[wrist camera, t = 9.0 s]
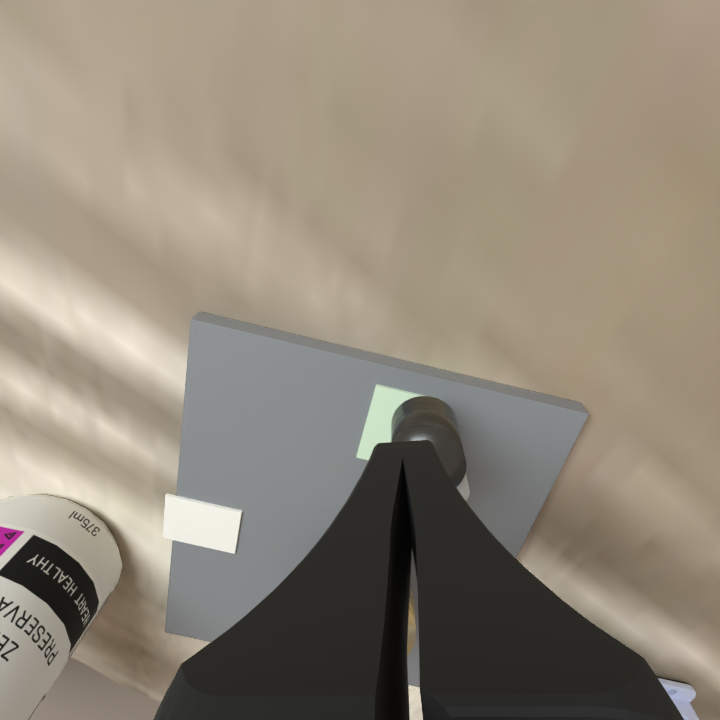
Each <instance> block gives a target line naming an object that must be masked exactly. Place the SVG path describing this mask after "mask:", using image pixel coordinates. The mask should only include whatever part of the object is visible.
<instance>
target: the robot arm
mask: <svg viewBox="0 0 720 720" xmlns="http://www.w3.org/2000/svg"><path fill="white" fill-rule="evenodd" d="M412 550H413V557H414V564H415V570H416V577H417V586H418V621H419V669H420V694H421V703H422V712H423V720H699V719H698V717H697V715H696V713H695V711H694V709H693V707H692V705H691V704H690V702H691V701H692V700H693V699H694V698H695V696H696V692H695V690H694V688H693V687H692V686H690V685H688V684H683V683H679V682H674V681H670V680H665V679H661V678H657V677H656V675H655V674H654V672H653V671H652V669H651V668H650V666H649V665H648V664H647V662H646V661H645V659H644V658H643V657H641V656H640V655H638V654H637V653H635V652H634V651H632V650H631V649H629V648H628V647H626V646H625V645H623V644H622V643H621V642H619V641H618V640H616V639H615V638H613V637H612V636H610V635H609V634H607V633H606V632H604V631H603V630H601V629H600V628H598V627H597V626H595V625H594V624H592V623H591V622H589V621H588V620H587V619H586V618H584V617H583V616H582V615H580V614H579V613H578V612H577V611H575V610H574V609H573V608H571V607H570V606H569V605H568V604H566V603H565V602H564V601H562V600H561V599H560V598H559V597H558V596H557V595H556V594H554V593H553V592H552V591H551V590H550V589H549V588H548V587H546V586H545V585H544V584H543V583H542V582H541V581H539V580H538V579H537V578H536V577H535V576H534V575H533V574H531V573H530V572H529V571H528V570H527V569H526V568H525V567H524V566H523V565H522V564H521V563H520V562H519V561H518V560H517V559H516V558H515V557H514V556H513V555H512V554H511V553H510V552H508V551H507V549H506V548H505V547H504V546H503V545H502V544H501V543H500V542H499V541H498V540H497V539H496V538H495V537H494V535H493V534H492V533H491V532H490V531H489V530H488V529H487V527H486V526H485V525H484V524H483V523H482V521H481V520H480V519H479V518H478V516H477V515H476V514H475V513H474V511H473V510H472V509H471V508H470V506H469V505H468V503H467V502H466V501H465V499H464V498H463V497H462V495H461V494H460V492H459V491H458V489H457V488H456V486H455V485H454V483H453V482H452V480H451V479H450V477H449V475H448V474H447V472H446V470H445V468H444V467H443V465H442V463H441V461H440V459H439V457H438V455H437V453H436V450H435V448H434V444H433V443H432V442H431V441H429V440H418V441H402V442H387V443H378V444H377V445H376V446H375V447H374V449H373V451H372V454H371V456H370V459H369V461H368V463H367V465H366V467H365V469H364V471H363V473H362V475H361V477H360V479H359V480H358V482H357V484H356V486H355V487H354V489H353V491H352V493H351V494H350V496H349V498H348V499H347V501H346V503H345V504H344V506H343V507H342V509H341V510H340V511H339V513H338V514H337V516H336V517H335V519H334V520H333V522H332V523H331V525H330V526H329V528H328V529H327V530H326V532H325V533H324V534H323V536H322V537H321V538H320V539H319V541H318V542H317V543H316V544H315V546H314V547H313V548H312V549H311V550H310V552H309V553H308V554H307V555H306V556H305V558H304V559H303V560H302V561H301V562H300V563H299V564H298V565H297V566H296V567H295V568H294V570H293V571H292V572H291V573H290V574H289V575H288V576H287V577H286V578H285V579H284V580H283V581H282V582H281V583H280V584H279V585H278V586H277V587H276V588H275V589H274V590H273V591H272V592H271V593H270V594H269V595H268V596H267V597H265V598H264V599H263V600H262V601H261V602H260V603H259V604H258V605H257V606H255V607H254V608H253V609H252V610H251V611H250V612H249V613H248V614H247V615H245V616H244V617H243V618H242V619H241V620H240V621H238V622H237V623H236V624H235V625H233V626H232V627H231V628H230V629H228V630H227V631H226V632H224V633H223V634H222V635H220V636H219V637H218V638H216V639H215V640H214V641H212V642H211V643H210V644H208V645H207V646H206V647H204V648H203V649H202V650H200V651H199V652H197V653H196V654H195V655H193V656H192V657H191V658H189V659H188V660H186V661H185V662H183V663H182V664H181V666H180V668H179V670H178V672H177V674H176V676H175V678H174V680H173V681H172V683H171V685H170V687H169V688H168V690H167V692H166V694H165V696H164V698H163V700H162V702H161V704H160V706H159V708H158V710H157V713H156V715H155V718H154V720H409V696H408V668H407V637H408V617H409V598H410V578H411V558H412Z"/></svg>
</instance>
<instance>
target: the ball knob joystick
mask: <svg viewBox="0 0 720 720" xmlns="http://www.w3.org/2000/svg"><path fill="white" fill-rule="evenodd" d="M418 440H429V441H431V442H432V443H433V444H434V448H435V450H436V453H437V455H438V457H439V459H440V461H441V463H442V465H443V467H444V468H445V470H446V472H447V474H448V475H449V477H450V479H451V480H452V482H453V483H454V485H455V486H456V487H457V486H458V485H459V484H460V483H461V482H462V480H463V478H464V476H465V473H466V459H465V455H464V450H463V446H462V442H461V437H460V433H459V428H458V424H457V420H456V416H455V413H454V411H453V410H452V408H451V407H450V406H449V405H448V404H447V403H445V402H444V401H442V400H440V399H438V398H435V397H431V396H418V397H414V398H411V399H408V400H406V401H405V402H403V403H402V404H401V405H400V406H399V407H398V408H397V409H396V411H395V412H394V414H393V417H392V421H391V442H402V441H418ZM415 639H416V624H415V601H414V595H413V592H412V590H411V588H410V598H409V617H408V637H407V656H408V655H409V653H410V652H411V650H412V649H413V646H414V644H415Z"/></svg>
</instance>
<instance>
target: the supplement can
mask: <svg viewBox="0 0 720 720" xmlns="http://www.w3.org/2000/svg"><path fill="white" fill-rule="evenodd" d="M121 570H122V562H121V557H120V553H119V549H118V547H117V544H116V540H115V538H114V536H113V535H112V533H111V532H110V530H109V529H108V527H107V526H106V525H105V523H104V522H103V521H101V520H100V519H99V518H98V517H97V516H95V515H94V514H93V513H92V512H91V511H89V510H88V509H86V508H84V507H82V506H80V505H78V504H76V503H74V502H72V501H70V500H68V499H64V498H59V497H54V496H50V495H22V496H10V497H8V498H6V499H4V500H2V501H0V720H30V719H31V718H32V716H33V715H34V713H35V711H36V710H37V708H38V707H39V705H40V703H41V702H42V701H43V699H44V697H45V696H46V694H47V693H48V691H49V690H50V688H51V686H52V685H53V683H54V682H55V680H56V679H57V677H58V675H59V674H60V672H61V671H62V669H63V668H64V666H65V665H66V663H67V661H68V660H69V658H70V657H71V655H72V654H73V652H74V651H75V649H76V647H77V646H78V644H79V643H80V641H81V640H82V638H83V636H84V635H85V633H86V632H87V630H88V629H89V627H90V626H91V624H92V622H93V621H94V619H95V618H96V616H97V615H98V613H99V612H100V610H101V608H102V607H103V605H104V604H105V602H106V601H107V599H108V597H109V596H110V594H111V593H112V591H113V590H114V588H115V587H116V585H117V583H118V582H119V578H120V574H121Z"/></svg>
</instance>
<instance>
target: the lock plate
mask: <svg viewBox="0 0 720 720" xmlns="http://www.w3.org/2000/svg"><path fill="white" fill-rule="evenodd" d="M418 396H431V397H435V398H438V399H440V400H442V401H444V402H445V403H447V404H448V405H449V406H450V407H451V408H452V410H453V411H454V413H455V416H456V420H457V424H458V428H459V433H460V437H461V442H462V446H463V450H464V455H465V459H466V473H465V476H464V478H463V480H462V482H461V483H460V484H459V485H458V486H457V487H456V488H457V489H458V491H459V492H460V494H461V495H462V497H463V498H464V499H465V501H466V502H467V503H468V505H469V506H470V508H471V509H472V510H473V511H474V513H475V514H476V515H477V516H478V518H479V519H480V520H481V521H482V523H483V524H484V525H485V526H486V527H487V529H488V530H489V531H490V532H491V533H492V534H493V535H494V537H495V538H496V539H497V540H498V541H499V542H500V543H501V544H502V545H503V546H504V547H505V548H506V549H507V551H508V552H510V553H511V554H512V555H513V556H514V557H515V558H516V557H517V555H518V553H519V551H520V549H521V547H522V545H523V543H524V541H525V539H526V537H527V535H528V533H529V531H530V529H531V527H532V525H533V523H534V521H535V519H536V517H537V515H538V513H539V511H540V509H541V508H542V506H543V504H544V502H545V500H546V498H547V496H548V494H549V492H550V490H551V488H552V486H553V484H554V482H555V480H556V478H557V476H558V474H559V472H560V470H561V468H562V466H563V464H564V462H565V460H566V458H567V456H568V454H569V452H570V450H571V448H572V446H573V445H574V443H575V441H576V439H577V437H578V435H579V433H580V431H581V429H582V427H583V425H584V423H585V421H586V419H587V417H588V415H589V413H588V412H587V410H586V409H585V408H584V406H583V405H582V404H581V403H580V402H575V401H571V400H567V399H563V398H559V397H555V396H550V395H546V394H542V393H538V392H534V391H529V390H525V389H521V388H517V387H513V386H509V385H504V384H500V383H496V382H492V381H488V380H483V379H479V378H475V377H471V376H467V375H463V374H458V373H454V372H450V371H446V370H442V369H438V368H433V367H429V366H425V365H421V364H417V363H412V362H408V361H404V360H400V359H396V358H392V357H387V356H383V355H379V354H375V353H371V352H366V351H362V350H358V349H354V348H350V347H346V346H341V345H337V344H333V343H329V342H325V341H321V340H316V339H312V338H308V337H304V336H300V335H295V334H291V333H287V332H283V331H279V330H275V329H270V328H266V327H262V326H258V325H254V324H249V323H245V322H241V321H237V320H233V319H229V318H224V317H220V316H216V315H212V314H208V313H203V312H199V313H197V314H196V315H195V316H194V317H193V318H191V324H190V336H189V348H188V360H187V372H186V384H185V396H184V408H183V420H182V433H181V445H180V457H179V469H178V481H177V493H176V495H172V494H166V495H165V509H164V523H163V538H166V539H170V540H173V541H172V554H171V566H170V578H169V590H168V602H167V614H166V626H165V632H167V633H172V634H177V635H181V636H186V637H190V638H195V639H200V640H204V641H209V642H212V641H214V640H215V639H216V638H218V637H219V636H220V635H222V634H223V633H224V632H226V631H227V630H228V629H230V628H231V627H232V626H233V625H235V624H236V623H237V622H238V621H240V620H241V619H242V618H243V617H244V616H245V615H247V614H248V613H249V612H250V611H251V610H252V609H253V608H254V607H255V606H257V605H258V604H259V603H260V602H261V601H262V600H263V599H264V598H265V597H267V596H268V595H269V594H270V593H271V592H272V591H273V590H274V589H275V588H276V587H277V586H278V585H279V584H280V583H281V582H282V581H283V580H284V579H285V578H286V577H287V576H288V575H289V574H290V573H291V572H292V571H293V570H294V568H295V567H296V566H297V565H298V564H299V563H300V562H301V561H302V560H303V559H304V558H305V556H306V555H307V554H308V553H309V552H310V550H311V549H312V548H313V547H314V546H315V544H316V543H317V542H318V541H319V539H320V538H321V537H322V536H323V534H324V533H325V532H326V530H327V529H328V528H329V526H330V525H331V523H332V522H333V520H334V519H335V517H336V516H337V514H338V513H339V511H340V510H341V509H342V507H343V506H344V504H345V503H346V501H347V499H348V498H349V496H350V494H351V493H352V491H353V489H354V487H355V486H356V484H357V482H358V480H359V479H360V477H361V475H362V473H363V471H364V469H365V467H366V465H367V463H368V461H369V459H370V456H371V454H372V451H373V449H374V447H375V446H376V445H377V444H378V443H387V442H391V421H392V417H393V414H394V412H395V411H396V409H397V408H398V407H399V406H400V405H401V404H402V403H403V402H405V401H406V400H408V399H411V398H414V397H418ZM410 588H411V590H412V592H413V595H414V601H415V624H416V639H415V644H414V646H413V649H412V650H411V652H410V653H409V655H408V656H407V668H408V685H412V686H416V687H420V669H419V621H418V586H417V577H416V570H415V564H414V557H413V550H412V558H411V578H410Z"/></svg>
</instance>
